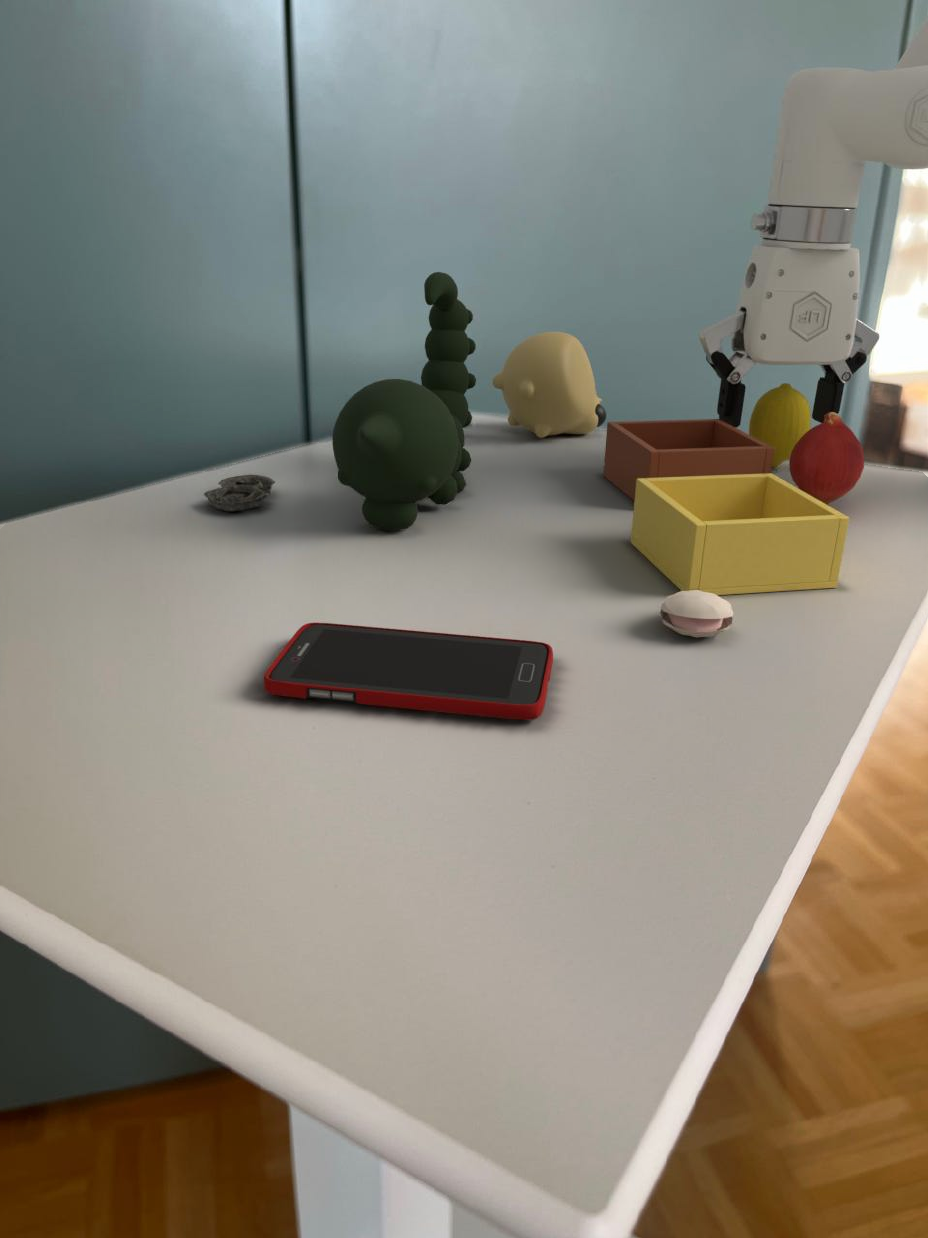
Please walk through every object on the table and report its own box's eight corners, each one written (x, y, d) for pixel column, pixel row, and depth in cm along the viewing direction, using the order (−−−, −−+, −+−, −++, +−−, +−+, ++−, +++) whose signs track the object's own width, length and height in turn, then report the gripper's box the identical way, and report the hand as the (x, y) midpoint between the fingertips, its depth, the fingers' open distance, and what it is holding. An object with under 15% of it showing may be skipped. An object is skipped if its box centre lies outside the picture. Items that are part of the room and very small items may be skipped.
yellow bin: (762, 535, 77) (771, 472, 75) (836, 587, 68) (849, 517, 66) (630, 542, 75) (636, 478, 73) (687, 597, 66) (696, 524, 64)
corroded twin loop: (283, 486, 86) (282, 475, 86) (258, 515, 79) (257, 502, 79) (226, 484, 87) (225, 472, 86) (196, 512, 79) (195, 500, 79)
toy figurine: (399, 482, 95) (299, 545, 72) (403, 270, 89) (295, 264, 65) (497, 490, 93) (426, 558, 70) (508, 274, 87) (434, 270, 64)
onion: (808, 491, 89) (823, 401, 85) (868, 507, 85) (886, 413, 81) (770, 503, 85) (784, 409, 82) (831, 520, 81) (848, 422, 78)
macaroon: (659, 641, 59) (663, 602, 58) (656, 608, 64) (660, 572, 63) (733, 647, 59) (739, 608, 58) (725, 613, 63) (730, 576, 62)
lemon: (732, 462, 98) (743, 379, 94) (779, 457, 99) (792, 376, 96) (767, 477, 93) (779, 390, 90) (815, 472, 95) (830, 387, 91)
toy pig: (574, 476, 105) (642, 402, 105) (515, 398, 97) (588, 318, 98) (523, 451, 112) (586, 383, 113) (465, 377, 105) (532, 303, 105)
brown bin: (712, 471, 94) (718, 418, 92) (766, 505, 85) (774, 447, 83) (603, 475, 92) (607, 421, 90) (645, 511, 83) (651, 451, 81)
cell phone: (541, 725, 50) (542, 708, 49) (258, 697, 52) (257, 680, 51) (554, 658, 57) (555, 642, 56) (304, 635, 59) (303, 620, 58)
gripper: (735, 229, 82) (707, 434, 89) (921, 234, 86) (881, 431, 93) (698, 224, 89) (675, 415, 96) (872, 229, 93) (838, 413, 99)
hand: (776, 423), depth 94 cm, fingers open, 9 cm apart
